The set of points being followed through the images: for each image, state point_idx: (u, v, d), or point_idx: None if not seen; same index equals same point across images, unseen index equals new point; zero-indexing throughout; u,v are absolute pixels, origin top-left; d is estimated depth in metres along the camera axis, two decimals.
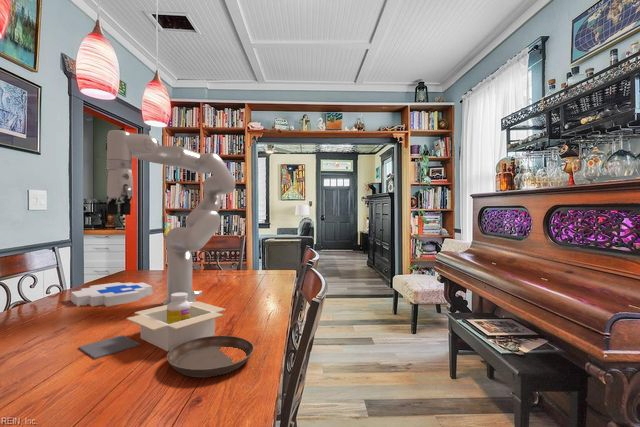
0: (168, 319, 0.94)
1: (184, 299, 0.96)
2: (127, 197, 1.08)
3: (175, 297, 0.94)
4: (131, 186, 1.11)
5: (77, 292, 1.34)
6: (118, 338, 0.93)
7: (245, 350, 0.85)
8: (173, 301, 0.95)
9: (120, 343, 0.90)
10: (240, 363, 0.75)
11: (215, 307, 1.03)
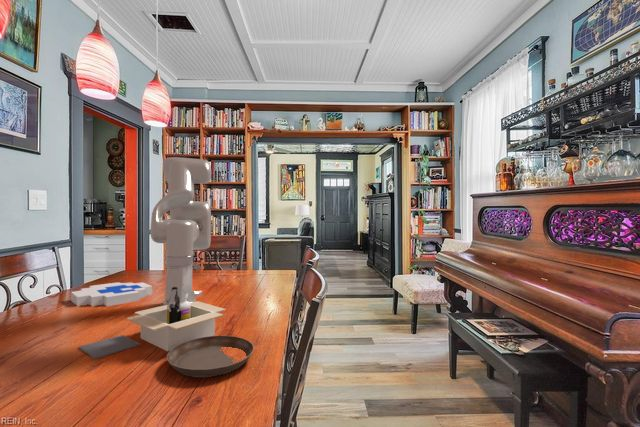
0: (168, 319, 0.94)
1: (184, 299, 0.96)
2: None
3: None
4: None
5: (77, 292, 1.34)
6: (118, 338, 0.93)
7: (245, 350, 0.85)
8: None
9: (120, 343, 0.90)
10: (240, 363, 0.75)
11: (215, 307, 1.03)
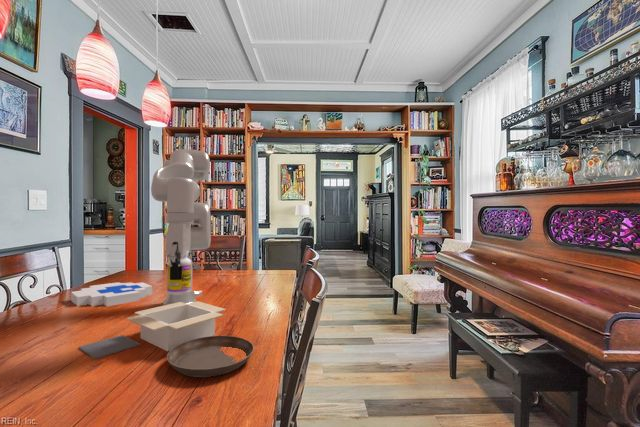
0: (169, 274, 0.94)
1: (185, 255, 0.96)
2: None
3: None
4: None
5: (77, 292, 1.34)
6: (118, 338, 0.93)
7: (245, 350, 0.85)
8: None
9: (120, 343, 0.90)
10: (240, 363, 0.75)
11: (215, 307, 1.03)
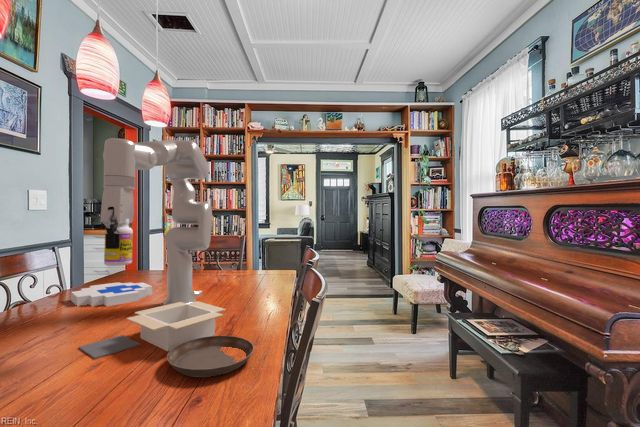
0: None
1: (124, 223, 0.89)
2: None
3: None
4: None
5: (77, 292, 1.34)
6: (118, 338, 0.93)
7: (245, 350, 0.85)
8: None
9: (120, 343, 0.90)
10: (240, 363, 0.75)
11: (215, 307, 1.03)
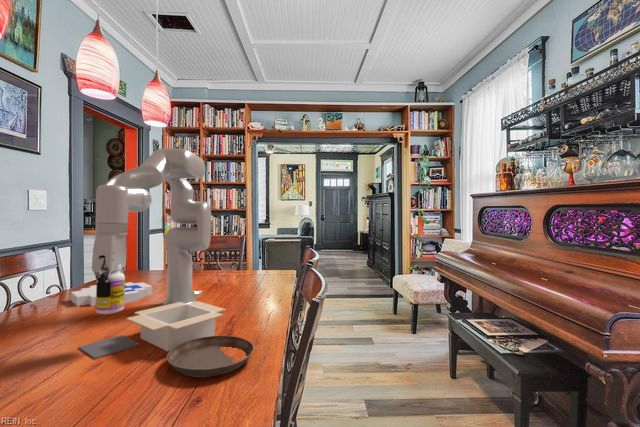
0: None
1: (116, 270, 0.88)
2: None
3: None
4: None
5: (77, 292, 1.34)
6: (118, 338, 0.93)
7: (245, 350, 0.85)
8: None
9: (120, 343, 0.90)
10: (240, 363, 0.75)
11: (215, 307, 1.03)
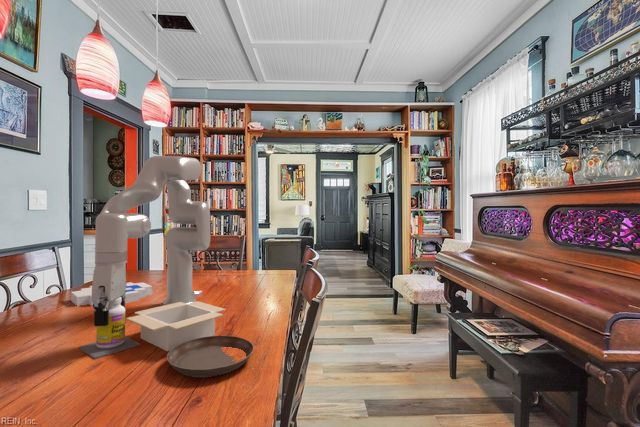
0: (97, 326, 0.86)
1: (116, 304, 0.88)
2: None
3: None
4: None
5: (77, 292, 1.34)
6: None
7: (245, 350, 0.85)
8: None
9: None
10: (240, 363, 0.75)
11: (215, 307, 1.03)
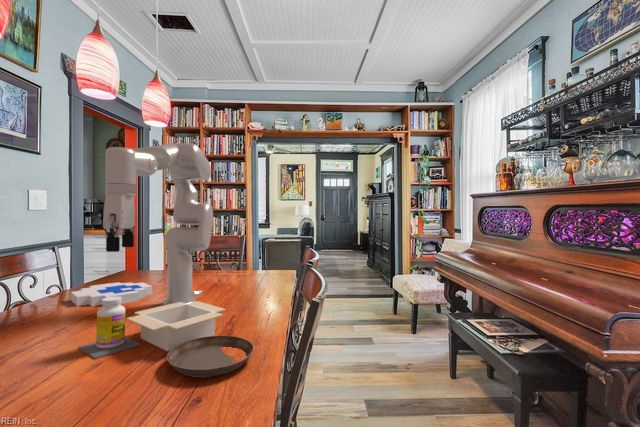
0: (97, 326, 0.86)
1: (116, 304, 0.88)
2: None
3: (105, 302, 0.87)
4: None
5: (77, 292, 1.34)
6: None
7: (245, 350, 0.85)
8: (104, 306, 0.87)
9: None
10: (240, 363, 0.75)
11: (215, 307, 1.03)
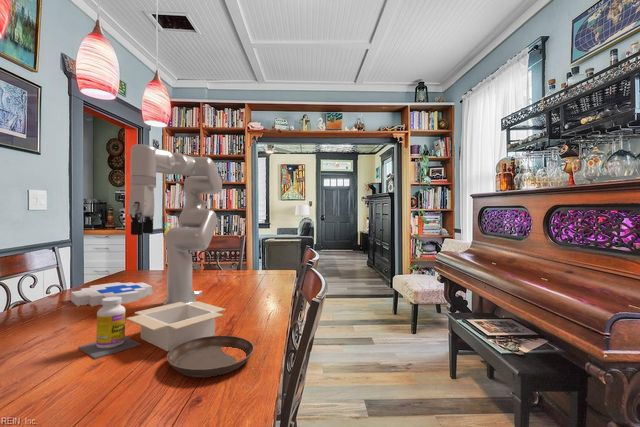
0: (97, 326, 0.86)
1: (116, 304, 0.88)
2: None
3: (105, 302, 0.87)
4: None
5: (77, 292, 1.34)
6: None
7: (245, 350, 0.85)
8: (104, 306, 0.87)
9: None
10: (240, 363, 0.75)
11: (215, 307, 1.03)
